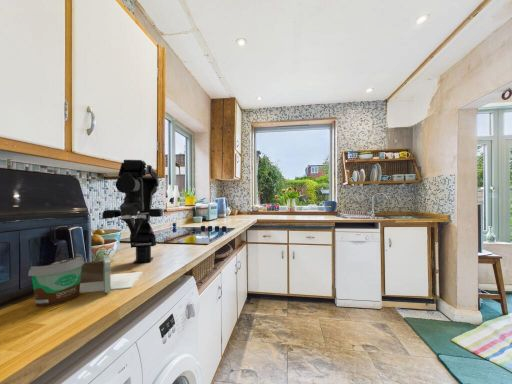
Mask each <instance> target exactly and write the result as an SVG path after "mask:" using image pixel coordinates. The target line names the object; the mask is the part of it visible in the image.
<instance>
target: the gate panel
mask: <svg viewBox="0 0 512 384" xmlns="http://www.w3.org/2000/svg"><path fill="white" fill-rule="evenodd" d="M102 261H103V265H104V267H103V281H104V288H105V291H104V293H106V294H107V293H110V292H111V290H110V275H111V272H112V268H111V260H110V256H109V253H103V259H102Z"/></svg>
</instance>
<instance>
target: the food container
mask: <svg viewBox="0 0 512 384" xmlns="http://www.w3.org/2000/svg"><path fill="white" fill-rule="evenodd" d="M85 262H86V261H85V258H84V256H83V254H80V253H75V256H74V257H71V258H68V259H61V260H57V261H54V262H51V263H49V264H47V265H39V266H37V265H36V266H30V269H29V270H28V274H27V276H28V277H31V282H32V287H33V296H34V302H35V307H38V308H39V307H49V306H55V305H60V304H63V303H66V302H68V301H70V300H71V301H72V300H73V299H75V298H76V297H77V296H79V295H80V293H79V291H80V279H81V268H82V265H84V263H85Z"/></svg>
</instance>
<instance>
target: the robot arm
mask: <svg viewBox="0 0 512 384" xmlns="http://www.w3.org/2000/svg"><path fill="white" fill-rule="evenodd" d="M147 175H150V176H147ZM117 176H118V178H117V180H116V182H115V189H116V190H117V191H118V192H120V193H122V194H124V199H123V202H122V203H121V204H120V205H119V209H105V210H103V212H102V215H101V216H102V218H101V219H107V220H108V219H113V218H119V217H121V218H120V221H124V222H125V223H126V225H127V227H128V229H129V232H130V235H129V242H130V248H131V249H132V248H135V260H133V262H132V263H133V264H143V263H151V262H152V260H153V259H154V257H153V256H152V247H156V246H157V239H156V234H155V232H154V231H153V228H152V226H151V223H150V221H151V218H156V217H157V218H158V217H163V216H164V210H163V208H152V206H153V196H154V195H155V194H156V192H158V187H159V186H160V180H159V176H158V173H156V172H155V171H154V170H153V166H152V165H150V164H147V163H146V162H145V161H144V160H143V159H124V160H123V162H121V164H120V168H119V172H118V174H117Z"/></svg>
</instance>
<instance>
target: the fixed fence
mask: <svg viewBox="0 0 512 384" xmlns="http://www.w3.org/2000/svg"><path fill="white" fill-rule="evenodd" d="M103 267H104V265H103V260H97V261H85V263H84V265H82V268H81V279H80V283H89V282H100V281H103Z"/></svg>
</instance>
